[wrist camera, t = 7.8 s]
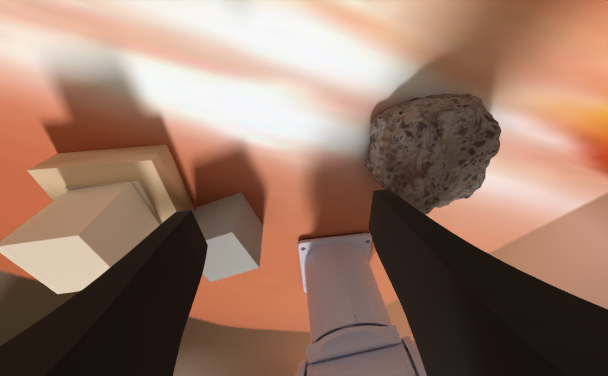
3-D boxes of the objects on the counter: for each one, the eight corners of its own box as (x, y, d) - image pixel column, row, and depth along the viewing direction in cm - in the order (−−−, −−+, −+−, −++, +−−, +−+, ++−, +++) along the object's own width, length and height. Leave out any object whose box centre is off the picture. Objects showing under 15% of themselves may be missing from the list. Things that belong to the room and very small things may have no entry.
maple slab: (201, 218, 22) (191, 242, 20) (117, 226, 22) (95, 252, 19) (169, 142, 18) (150, 160, 15) (63, 150, 17) (25, 171, 15)
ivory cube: (161, 227, 18) (127, 284, 14) (107, 235, 18) (57, 293, 14) (130, 181, 16) (77, 235, 12) (67, 190, 16) (-8, 247, 12)
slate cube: (263, 225, 23) (259, 267, 19) (222, 238, 23) (210, 282, 19) (241, 191, 20) (232, 232, 16) (197, 206, 21) (177, 249, 17)
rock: (419, 203, 23) (443, 232, 20) (340, 149, 19) (353, 174, 16) (502, 134, 20) (548, 155, 16) (427, 48, 15) (467, 52, 12)
